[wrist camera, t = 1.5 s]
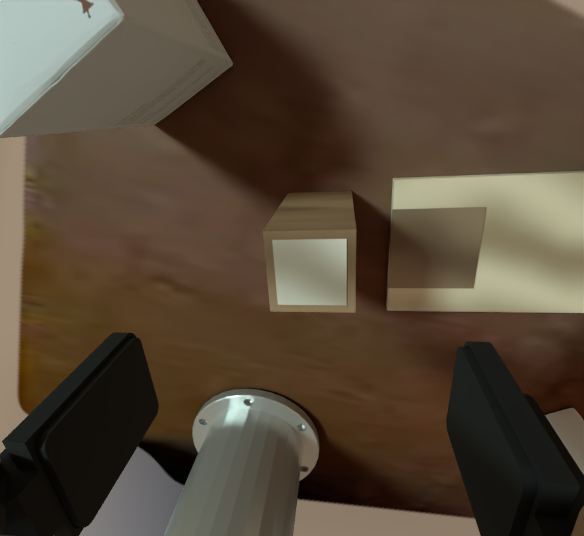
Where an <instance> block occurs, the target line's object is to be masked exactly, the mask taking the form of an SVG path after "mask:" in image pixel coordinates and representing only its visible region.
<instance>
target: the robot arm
mask: <svg viewBox="0 0 584 536" xmlns="http://www.w3.org/2000/svg"><path fill="white" fill-rule="evenodd" d="M157 412H158V400H157V396H156V393H155V389H154V386H153V382H152V379H151V375H150V372H149V368H148V365H147V361H146V358H145V354H144V351H143V347H142V344H141V341H140V339H139V338H136V336H135V335H134V334H133V333H112V334H111V335H110V336H109V337H108V338H107V339H106V340H105V341H104V342H103V343H102V344H101V345H100V346H99V347H98V348H97V349H95V350H94V351H93V352H92V353H91V354H90V355H89V356H88V357H87V358H86V359H85V360H84V361H83V362H82V363H81V364H80V365H79V366H78V367H77V368H76V369H75V370H74V371H73V372H72V373H71V374H70V375H69V376H68V377H67V378H66V379H65V380H64V381H63V382H62V383H61V384H60V385H59V386H58V387H57V388H56V389H55V390H54V391H53V392H52V393H51V394H50V395H49V396H48V397H47V398H46V399H45V400H44V401H43V402H42V403H41V404H40V405H39V406H38V407H37V408H36V409H35V410H33V411H32V412H31V413H30V414H29V415H28V416H27V417H26V418H25V420H23V421H22V422H21V423H20V424H19V425H18V426H17V427H16V428H15V429H14V430H13V431H12V432H11V433H10V434H9V435H8V436H7V437H6V438H5V439H4V440H3V441H2V442H3V444H4V446H5V448H6V449H5V450H4V451H3V452H2V453H1V454H0V536H79V535H80V533H81V531H82V530H83V528H84V527H86V526H88V525H89V524H90V523H91V522H92V520H93V519H94V518H95V516H96V514H97V513H98V511H99V509H100V508H101V506H102V504H103V503H104V501H105V499H106V498H107V496H108V494H109V493H110V491H111V489H112V487H113V486H114V484H115V483H116V481H117V479H118V478H119V476H120V474H121V473H122V471H123V470H124V468H125V466H126V464H127V463H128V461H129V460H130V458H131V456H132V455H133V453H134V451H135V450H136V448H137V446H138V445H139V443H140V441H141V440H142V438H143V436H144V435H145V433H146V431H147V430H148V428H149V426H150V425H151V423H152V422H153V420H154V418H155V417H156V415H157ZM447 431H448V435H449V438H450V441H451V444H452V447H453V450H454V454H455V457H456V460H457V463H458V466H459V469H460V472H461V476H462V479H463V482H464V485H465V488H466V491H467V494H468V497H469V501H470V504H471V507H472V510H473V513H474V516H475V519H476V522H477V526H478V528H479V532H480V535H481V536H584V474H583V473H582V471H581V470H580V468H579V467H578V465H577V464H576V462H575V461H574V459H573V457H572V456H571V454H570V453H569V451H568V450H567V448H566V447H565V445H564V444H563V442H562V441H561V439H560V438H559V436H558V434H557V433H556V431H555V430H554V428H553V427H552V425H551V424H550V422H549V421H548V419H547V418H546V416H545V414H544V413H543V411H542V410H541V408H540V407H539V405H538V404H537V402H536V401H535V400H534V399H533V397H532V396H530V395H528V394H523V393H522V392H521V390H520V389H519V387H518V385H517V384H516V382H515V381H514V379H513V377H512V376H511V374H510V372H509V371H508V369H507V368H506V366H505V364H504V363H503V361H502V360H501V358H500V356H499V355H498V353H497V352H496V350H495V348H494V347H493V345H492V344H491V343H489V342H466V343H465V346H464V347H459V348H458V350H457V356H456V362H455V368H454V375H453V381H452V388H451V394H450V400H449V407H448V413H447ZM193 441H194V445H195V447H196V449H197V451H198V455H197V458H196V460H195V462H194V465H193V467H192V470H191V472H190V474H189V477H188V479H187V482H186V484H185V486H184V489H183V491H182V494H181V496H180V498H179V501H178V503H177V506H176V508H175V510H174V513H173V515H172V517H171V520H170V522H169V524H168V527H167V529H166V532H165V534H164V536H293V531H294V522H295V514H296V505H297V497H298V488H299V481H300V480H302V479H304V478H305V477H306V476H307V475H308V474H309V473H310V472H311V471H312V470H313V468H314V467H315V465H316V463H317V460H318V455H319V436H318V433H317V429H316V427H315V425H314V424H313V422H312V420H311V419H310V418H309V417H308V415H307V414H306V413H305V412H304V411H303V410H302V409H301V408H299V407H298V406H297V405H296V404H294V403H293V402H291V401H289V400H287V399H286V398H284V397H281V396H279V395H276V394H274V393H271V392H267V391H262V390H256V389H235V390H231V391H226V392H223V393H221V394H218V395H216V396H214V397H213V398H211V399H210V400H209V401H207V402H206V403H205V404H204V405H203V407H202V408H201V409H200V411H199V413H198V415H197V417H196V419H195V422H194V425H193Z"/></svg>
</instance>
